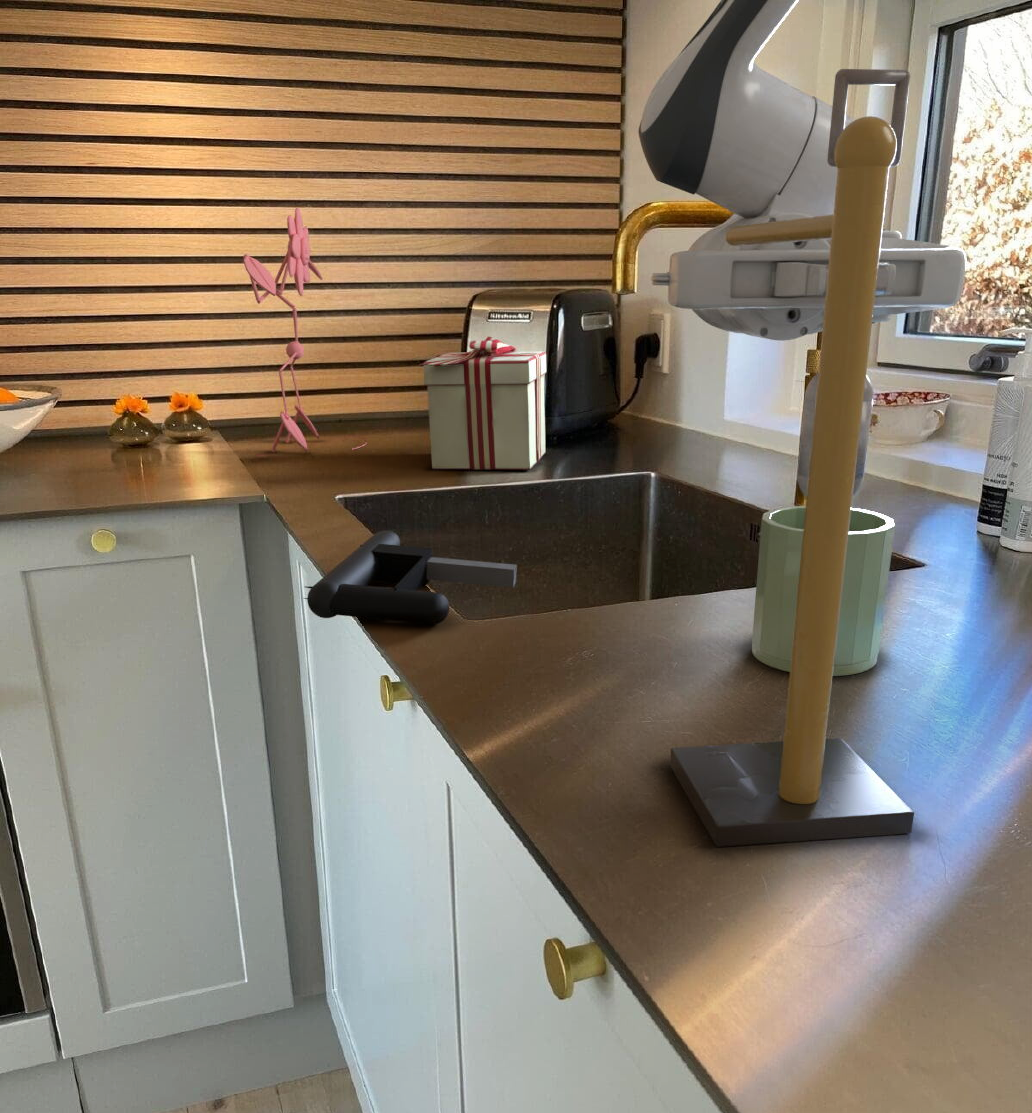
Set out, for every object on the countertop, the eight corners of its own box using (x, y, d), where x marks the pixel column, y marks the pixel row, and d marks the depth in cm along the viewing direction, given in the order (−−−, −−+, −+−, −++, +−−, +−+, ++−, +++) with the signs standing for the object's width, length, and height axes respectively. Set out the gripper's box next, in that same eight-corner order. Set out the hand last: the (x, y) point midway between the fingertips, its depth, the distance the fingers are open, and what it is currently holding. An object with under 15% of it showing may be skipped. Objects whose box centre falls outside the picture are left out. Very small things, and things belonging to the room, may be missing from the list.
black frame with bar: (526, 540, 98) (361, 525, 100) (489, 603, 80) (288, 584, 82) (524, 574, 100) (362, 559, 102) (487, 643, 81) (289, 623, 83)
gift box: (427, 452, 161) (423, 335, 155) (547, 453, 160) (547, 335, 153) (406, 472, 145) (400, 342, 139) (538, 473, 144) (538, 342, 137)
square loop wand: (846, 498, 74) (893, 76, 64) (872, 511, 70) (927, 63, 60) (783, 500, 74) (822, 75, 64) (806, 514, 70) (851, 62, 60)
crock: (846, 632, 80) (861, 503, 77) (898, 673, 72) (917, 531, 69) (735, 637, 80) (745, 507, 76) (776, 679, 71) (788, 536, 68)
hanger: (778, 691, 69) (826, 157, 58) (911, 833, 52) (1021, 108, 40) (630, 699, 68) (649, 157, 56) (716, 847, 51) (769, 106, 39)
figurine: (251, 461, 156) (225, 203, 143) (292, 435, 180) (273, 212, 167) (353, 460, 155) (336, 201, 142) (381, 434, 179) (368, 211, 166)
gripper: (646, 232, 76) (699, 225, 63) (913, 231, 78) (1016, 224, 66) (643, 323, 78) (693, 334, 66) (902, 320, 81) (999, 330, 68)
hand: (857, 279), depth 66 cm, fingers closed on square loop wand, 2 cm apart
